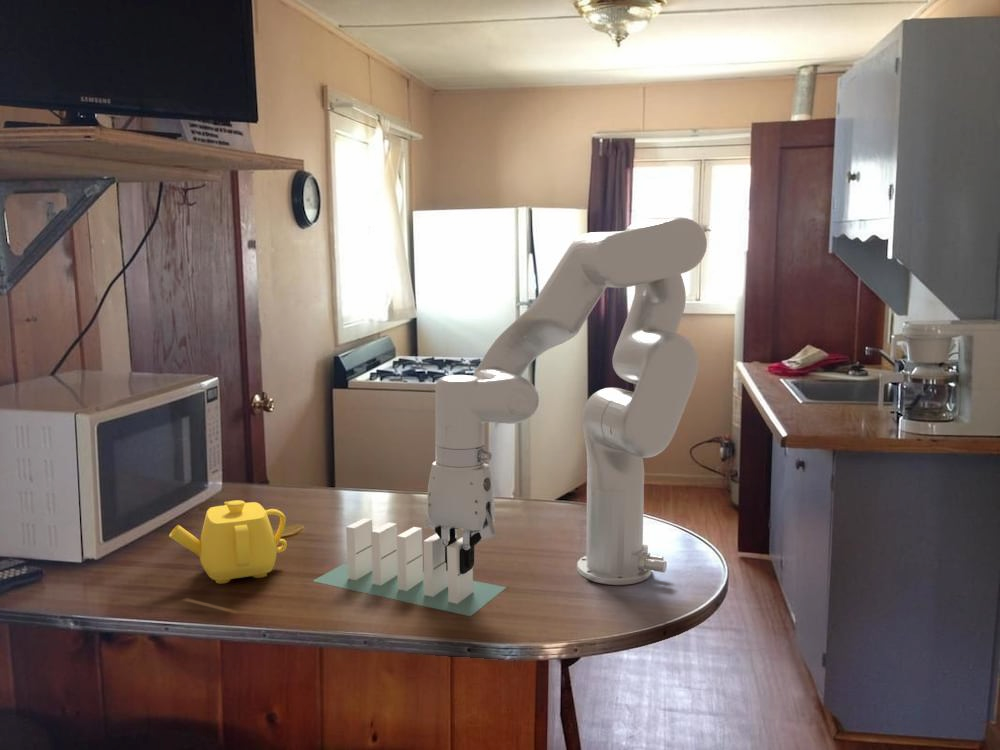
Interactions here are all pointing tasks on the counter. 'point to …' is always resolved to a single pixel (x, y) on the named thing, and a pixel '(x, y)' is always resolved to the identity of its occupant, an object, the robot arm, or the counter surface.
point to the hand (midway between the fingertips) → (459, 568)
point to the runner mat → (412, 591)
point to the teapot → (235, 541)
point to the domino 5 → (457, 574)
